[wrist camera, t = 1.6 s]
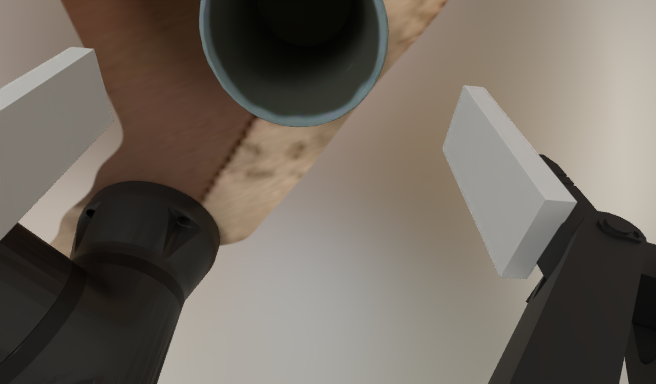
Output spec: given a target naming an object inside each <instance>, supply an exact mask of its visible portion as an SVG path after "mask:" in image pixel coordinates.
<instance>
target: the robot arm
mask: <svg viewBox="0 0 656 384" xmlns="http://www.w3.org/2000/svg"><path fill="white" fill-rule="evenodd" d="M113 121H114V120H113V116H112V113H111V109H110V106H109V102H108V98H107V94H106V91H105V87H104V84H103V80H102V76H101V73H100V69H99V65H98V62H97V58H96V54H95V51H94V49H88V48H77V47H70V48H68V49H67V50H65V51H63V52H62V53H60V54H58V55H56V56H55V57H53V58H51V59H50V60H48V61H46V62H44V63H43V64H41V65H39V66H38V67H36V68H34V69H33V70H31V71H29V72H28V73H26V74H24V75H23V76H21V77H19V78H17V79H16V80H14V81H12V82H11V83H9V84H7V85H6V86H4V87H2V88H0V384H157V382H158V379H159V376H160V373H161V370H162V367H163V364H164V360H165V358H166V354H167V352H168V349H169V345H170V343H171V340H172V337H173V334H174V331H175V327H176V325H177V322H178V319H179V316H180V313H181V310H182V307H183V304H184V302H185V300H186V299H187V298H188V296H189V295H190V294H191V293H192V291H193V290H194V289H195V288H196V286H197V285H198V284H199V283H200V281H201V280H202V279H203V278H204V277H205V275H206V274H207V273H208V272H209V270H210V269H211V267H212V265H213V263H214V261H215V258H216V255H217V252H218V249H219V244H220V236H219V231H218V228H217V226H216V224H215V222H214V220H213V219H212V217H211V216H210V214H209V213H208V212H207V211H206V210H205V209H204V208H203V207H202V206H201V205H200V204H199V203H197V202H196V201H195V200H193V199H192V198H190V197H189V196H187V195H185V194H183V193H181V192H179V191H177V190H175V189H172V188H170V187H167V186H164V185H160V184H156V183H150V182H142V181H129V182H121V183H117V184H113V185H110V186H108V187H106V188H104V189H102V190H100V191H99V192H98V193H97V194H96V195H95V196H94V197H93V198H92V199H91V200H90V202H89V203H88V204H87V206H86V207H85V208H84V210H83V211H82V213H81V215H80V217H79V220H78V224H77V228H76V233H75V237H74V242H73V246H72V251H71V255H70V259H69V258H68V257H66V256H65V255H63V254H62V253H61V252H59V251H58V250H56V249H55V248H53V247H52V246H51V245H49V244H48V243H46V242H45V241H43V240H42V239H41V238H39V237H38V236H36V235H35V234H33V233H32V232H31V231H29V230H28V229H26V228H25V227H23V226H22V225H20V224H19V223H18V221H19V220H20V219H21V218H22V217H23V216H24V215H25V214H26V213H27V212H28V211H29V210H30V209H31V208H32V206H33V205H34V204H35V203H36V202H37V201H38V200H39V199H40V198H41V197H42V196H43V195H44V194H45V193H46V191H48V190H49V189H50V187H51V186H52V185H53V184H54V183H55V182H56V181H57V180H58V179H59V178H60V177H61V176H62V175H63V174H64V173H65V172H66V171H67V169H69V167H70V166H71V165H72V164H73V163H74V162H75V161H76V160H77V159H78V158H79V157H80V156H81V155H82V154H83V153H84V152H85V151H86V150H87V148H88V147H89V146H90V145H91V144H92V143H93V142H94V141H95V140H96V139H97V138H98V137H99V136H100V135H101V134H102V133H103V132H104V131H105V129H106V128H107V127H108V126H109V125H110V124H111V123H112V122H113ZM442 150H443V152H444V154H445V156H446V158H447V161H448V163H449V166H450V168H451V170H452V172H453V174H454V177H455V179H456V181H457V183H458V185H459V188H460V190H461V192H462V194H463V197H464V199H465V201H466V203H467V205H468V208H469V210H470V212H471V214H472V216H473V219H474V221H475V223H476V225H477V227H478V230H479V232H480V234H481V236H482V239H483V241H484V243H485V245H486V248H487V250H488V252H489V254H490V256H491V259H492V261H493V263H494V265H495V267H496V270H497V272H498V274H499V276H500V277H502V278H519V279H527V278H528V277H529V275H530V274H531V272H532V271H533V269H534V267H535V266H536V264H537V265H538V266H539V268H540V270H541V272H542V273H543V275H544V276H543V277H542V279H541V280H540V282H539V283H538V284H537V286H536V287H535V289H534V290H533V292H532V293H531V295H530V296H529V297H528V299H527V301H526V302H527V303H528V305H527V307H526V309H525V311H524V313H523V315H522V317H521V319H520V321H519V323H518V325H517V327H516V329H515V331H514V333H513V335H512V337H511V339H510V341H509V343H508V345H507V347H506V349H505V351H504V353H503V355H502V357H501V359H500V361H499V363H498V365H497V367H496V369H495V371H494V373H493V375H492V377H491V379H490V381H489V383H488V384H619V381H620V376H621V371H622V366H623V361H624V356H625V362H626V369H627V375H628V382H629V384H656V245H655V244H651V243H648V242H647V241H646V237H645V236H644V235H643V233H642V232H641V231H640V230H639V229H638V228H637V227H636V226H634V225H633V224H631V223H630V222H628V221H627V220H625V219H623V218H621V217H619V216H616V215H613V214H610V213H607V212H601V211H597V210H596V209H595V208H594V206H593V205H592V204H591V203H590V202H589V201H588V199H587V198H586V197H585V196H584V195H583V194H582V192H581V191H580V190H579V189H578V188H577V187H576V186H574V183H573V182H572V181H571V180H570V178H569V177H566V176H567V175H566V174H565V173H564V171H563V170H562V169H561V168H560V167H559V166H558V164H556V163H554V162H553V161H552V160H550V159H549V158H547V157H546V156H545V155H541V154H538V153H537V152H536V151H535V150H534V148H533V147H532V146H531V145H530V144H529V142H528V141H527V140H526V139H525V137H524V136H523V135H522V134H521V133H520V131H519V130H518V129H517V127H515V125H514V124H513V123H512V122H511V120H510V119H509V118H508V116H507V115H506V114H505V113H504V112H503V110H502V109H501V108H500V107H499V105H498V104H497V103H496V102H495V100H494V99H493V98H492V97H491V96H490V95H489V93H488V92H487V91H486V89H485V88H484V87H475V86H465V85H464V86H463V89H462V91H461V95H460V97H459V101H458V104H457V107H456V110H455V112H454V116H453V119H452V121H451V125H450V127H449V131H448V133H447V136H446V139H445V142H444V145H443V148H442Z"/></svg>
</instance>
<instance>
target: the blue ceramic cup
mask: <svg viewBox="0 0 656 384" xmlns="http://www.w3.org/2000/svg"><path fill="white" fill-rule="evenodd" d="M199 29H200V35H201V40H202V45H203V50H204V53H205V55H206V58H207V61H208V63H209V65H210V67H211V69H212V70H213V72H214V74H215V75H216V77H217V79H218V80H219V82H220V84H221V86H222V87H223V88H224V90H225V91H226V92H227V93H228V94H229V95H230V96H231V97H232V98H233V99H234V100H235V101H236V102H237V103H238V104H239V105H241V106H242V107H243V108H244V109H246V110H247V111H249V112H250V113H252V114H254V115H256V116H257V117H259V118H261V119H264V120H266V121H269V122H272V123H276V124H279V125H283V126H290V127H309V126H316V125H321V124H324V123H327V122H330V121H333V120H335V119H337V118H340V117H341V116H343V115H345V114H346V113H348V112H349V111H351V110H352V109H354V108H355V107H356V106H357V105H358V104H359V103H360V102H361V101H362V100H363V99H364V98H365V97H366V96H367V94H368V93H369V92H370V90H371V89H372V88H373V86H374V85H375V83H376V81H377V79H378V77H379V75H380V73H381V70H382V68H383V65H384V61H385V57H386V53H387V47H388V33H389V30H388V19H387V14H386V10H385V6H384V3H383V0H201V4H200V16H199Z"/></svg>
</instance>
